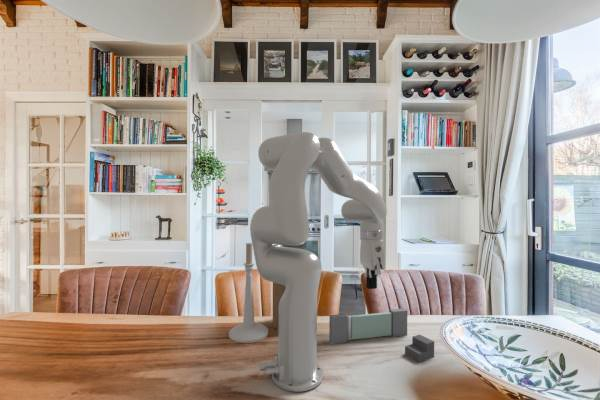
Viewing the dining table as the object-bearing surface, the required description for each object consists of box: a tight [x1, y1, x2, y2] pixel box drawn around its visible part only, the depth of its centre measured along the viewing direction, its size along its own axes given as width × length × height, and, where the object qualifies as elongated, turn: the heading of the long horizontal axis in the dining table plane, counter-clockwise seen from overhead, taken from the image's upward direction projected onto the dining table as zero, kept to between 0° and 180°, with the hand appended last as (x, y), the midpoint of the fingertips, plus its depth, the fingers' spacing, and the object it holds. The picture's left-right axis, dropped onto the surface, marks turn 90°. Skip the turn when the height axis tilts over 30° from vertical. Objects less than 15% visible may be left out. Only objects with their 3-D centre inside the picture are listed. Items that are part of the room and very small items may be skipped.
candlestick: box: [228, 242, 269, 344], centre depth 98 cm, size 13×13×30 cm
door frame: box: [328, 307, 408, 345], centre depth 96 cm, size 26×2×8 cm, turn 104°
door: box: [346, 311, 392, 341], centre depth 96 cm, size 15×1×7 cm, turn 104°
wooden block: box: [272, 282, 286, 330], centre depth 106 cm, size 10×10×20 cm
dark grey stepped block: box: [404, 334, 435, 363], centre depth 85 cm, size 6×5×4 cm
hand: (371, 288), depth 104 cm, fingers closed
